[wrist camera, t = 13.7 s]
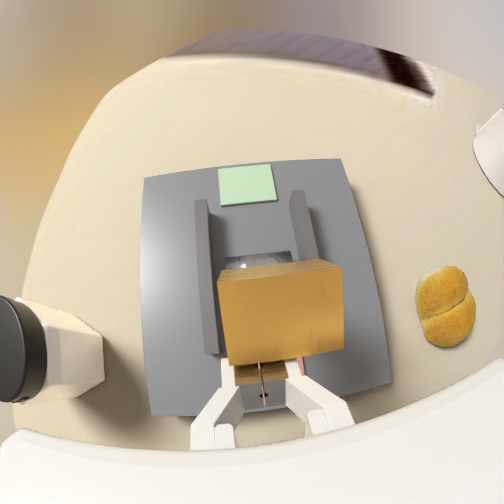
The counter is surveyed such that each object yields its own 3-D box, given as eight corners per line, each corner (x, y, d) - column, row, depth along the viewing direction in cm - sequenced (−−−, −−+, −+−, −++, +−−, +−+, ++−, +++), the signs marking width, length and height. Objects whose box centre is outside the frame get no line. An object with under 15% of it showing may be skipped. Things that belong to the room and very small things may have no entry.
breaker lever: (286, 244, 23) (349, 266, 10) (289, 283, 23) (351, 347, 10) (224, 251, 23) (208, 283, 10) (229, 290, 23) (221, 366, 10)
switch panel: (331, 179, 31) (346, 143, 25) (373, 379, 23) (406, 384, 17) (155, 197, 30) (136, 163, 24) (165, 407, 23) (140, 422, 16)
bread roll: (427, 359, 24) (449, 358, 20) (402, 284, 27) (421, 274, 23) (473, 328, 25) (494, 323, 21) (450, 261, 28) (469, 249, 24)
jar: (38, 362, 23) (-38, 355, 12) (62, 303, 26) (-14, 273, 14) (93, 410, 22) (16, 429, 11) (120, 346, 24) (43, 337, 13)
